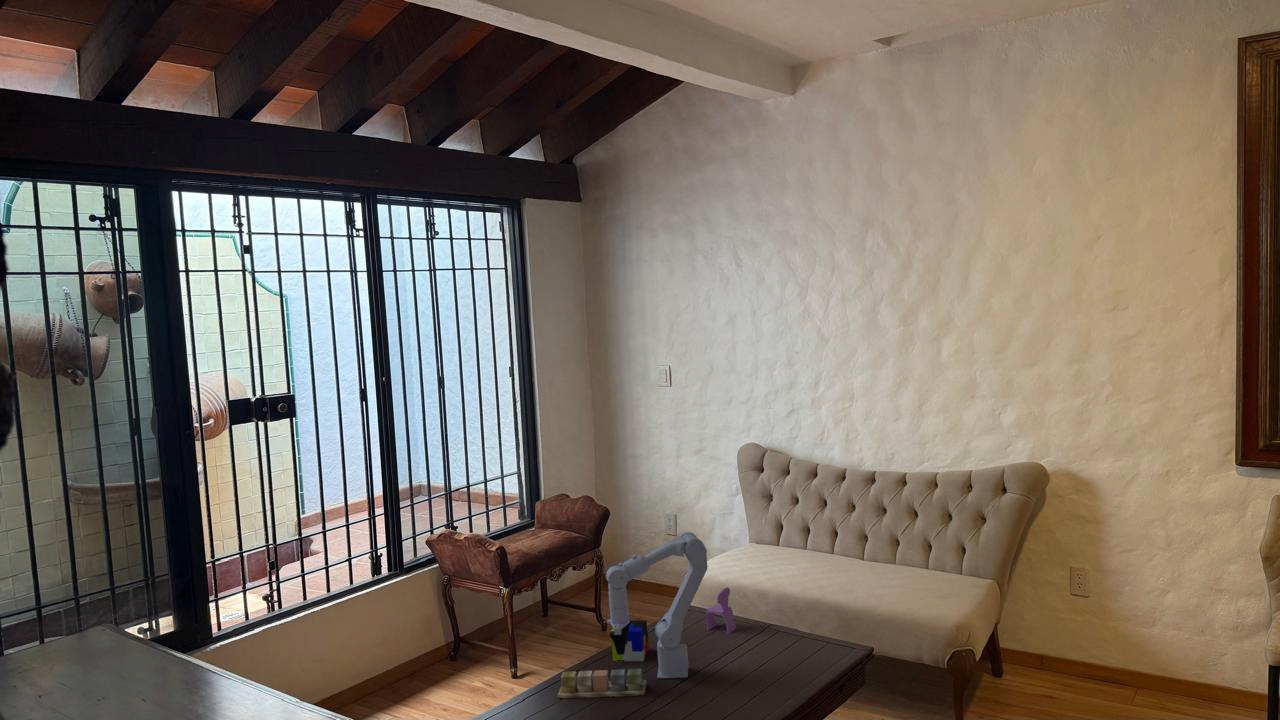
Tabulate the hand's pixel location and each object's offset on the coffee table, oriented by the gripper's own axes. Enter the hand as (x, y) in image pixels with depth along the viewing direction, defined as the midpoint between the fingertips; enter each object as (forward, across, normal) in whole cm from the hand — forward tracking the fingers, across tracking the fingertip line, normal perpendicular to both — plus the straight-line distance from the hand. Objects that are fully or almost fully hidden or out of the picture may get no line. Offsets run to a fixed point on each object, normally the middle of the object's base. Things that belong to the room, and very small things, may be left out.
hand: (622, 649), depth 273 cm
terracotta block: (+9, +7, -6) cm, 13 cm away
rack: (+10, +7, -6) cm, 14 cm away
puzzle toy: (+10, -20, 0) cm, 22 cm away
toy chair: (+10, -40, +30) cm, 51 cm away
